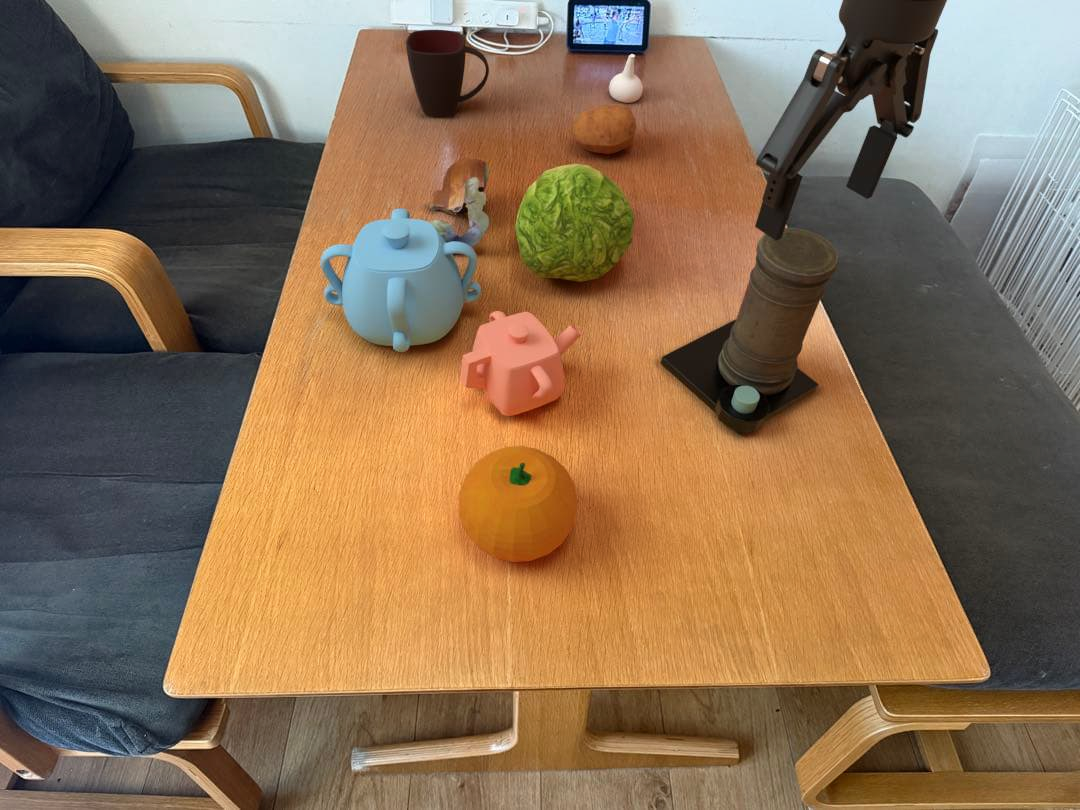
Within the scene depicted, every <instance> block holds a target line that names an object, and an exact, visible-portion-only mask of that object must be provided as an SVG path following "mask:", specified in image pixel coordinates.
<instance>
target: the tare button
mask: <svg viewBox="0 0 1080 810" xmlns="http://www.w3.org/2000/svg"><path fill="white" fill-rule="evenodd" d="M759 398H760V395H759V393H758V391H757V390H756V389H754V388H752V387H750V386H740V387H738V388H737V389H736V390H735V392H734V395H733V398H732V401H731V404H732V407H733V408H734V409H735V410H736V411H738V412H740V413H744V414H749V413H752V412H753V411H754V410H755V409H756V406H757V404H758V401H759Z"/></svg>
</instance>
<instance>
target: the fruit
mask: <svg viewBox="0 0 1080 810" xmlns="http://www.w3.org/2000/svg"><path fill="white" fill-rule="evenodd" d="M578 507H579V505H578V496H577V489H576V486H575V483H574V481H573V479H572V477H571V475H570V474H569V472H568V470H567V468H566V467H565V466H564V465H562V464H561V462H559V461H558V460H557V459H556V458H555V457H554V456H553V455H551V454H548V453H546V452H544V451H542V450H541V449H538V448H534V447H530V446H526V445H524V446H523V445H515V446H513V445H512V446H506V447H501V448H499V449H496V450H493V451H491V452H489V453H487V454H486V455H485V456H483V457H481V458H480V459H478V460H477V461H476V463H475V464H474V465H473V466H472V467H471V469H470V470H469V471H467V473H466V475H465V477H464V479H463V482H462V484H461V488H460V490H459V492H458V514H459V518H460V522H461V524H462V526H463V529H464V531H465V533H466V535H467V537H468V538H469V540H471V541H472V543H473V544H474V545H476V547H477V548H478V549H479V550H481V551H482V552H484V553H486V554H488V555H490V556H492V557H493V558H495V559H498V560H503V561H507V562H511V563H518V562H531V561H534V560H536V559H540V558H542V557H545V556H547V555H549V554H551V553H552V552H553V551H555V550H556V549H557V548H558V547H560V546H561V545H562V544H563V543H564V542H565V540H566V538H567V537H568V535H569V534H570V532H571V531H572V529H573V528H574V524H575V520H576V516H577V513H578Z"/></svg>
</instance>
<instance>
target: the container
mask: <svg viewBox="0 0 1080 810" xmlns="http://www.w3.org/2000/svg"><path fill="white" fill-rule="evenodd" d="M755 253H756V256H755V264H754V266H753V268H752V269H751V270H750V273H749V280H748V283H747V285H746V289H745V291H744V295H743V298H742V300H741V304H740V306H739V309H738V312H737V315H736V318H735V319H736V321H735V323H734V325H733V327H732V329H731V335H730V338H729V339H728V340H727V341H726V342H725V343H724V346H723V349H722V351H721V353H720V355H719V359H718V365H719V370H720V373H721V375H722V376H723V378H724V379H725V380H726V381H727V382H728V383H729V384H730V385H747V386H750V387H753V388H756V389H757V390H759V391H760V392H761V393H762V394H763V395H772V394H776V393H779V392H781V391H782V390H784V389H785V388H786V387H787V386H788V385H789V384H790V383H791V382H792V380H793V378H794V375H795V371H796V369H797V368H798V365H799V363H798V357H799V355H800V354H801V352H802V350H803V347H804V346H803V342H804V341H805V337H806V335H807V334H808V330H809V328H810V326H811V323H812V320H813V318H814V316H815V313H816V311H817V309H818V306H819V304H820V301H821V299H822V298H823V296H824V295H825V287H826V285H827V283H828V282H829V281H830V279H831V277H832V276H833V275H834V274H835V273H836V271H837V269H838V265H839V254H838V252H837V250H836V248H835V246H834V245H833V243H832V242H830V241H829V240H828V239H826V238H824V237H823V236H821V235H820V234H818V233H816V232H813V231H810V230H806V229H802V228H798V227H797V228H796V227H785V229H784V232H783V235H782V238H781V239H779V240H777V241H775V240H774V239H772V238H771V237H769V236H768V235H766V234H765V233H764V234H763V235H762V236H761V237H760V239H759V240H758V242H757V244H756V252H755Z"/></svg>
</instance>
